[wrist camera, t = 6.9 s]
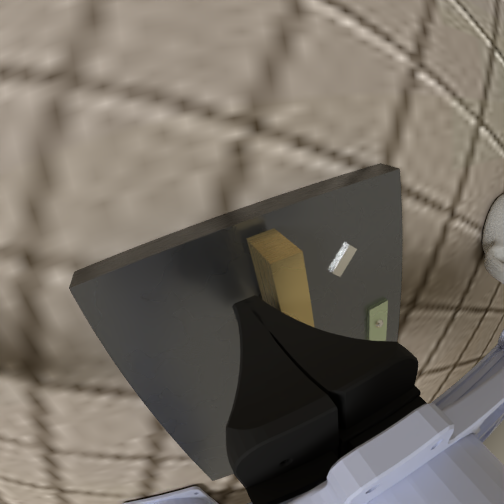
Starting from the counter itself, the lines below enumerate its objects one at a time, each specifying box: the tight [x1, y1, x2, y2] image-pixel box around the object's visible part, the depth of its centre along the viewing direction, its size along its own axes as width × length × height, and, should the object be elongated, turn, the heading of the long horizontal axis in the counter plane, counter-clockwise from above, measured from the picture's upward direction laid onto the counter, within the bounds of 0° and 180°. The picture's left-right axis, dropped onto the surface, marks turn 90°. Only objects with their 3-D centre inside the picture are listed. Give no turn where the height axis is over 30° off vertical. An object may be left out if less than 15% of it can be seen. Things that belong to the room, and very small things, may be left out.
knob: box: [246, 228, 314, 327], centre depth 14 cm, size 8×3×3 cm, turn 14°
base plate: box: [69, 163, 402, 481], centre depth 18 cm, size 19×16×2 cm
